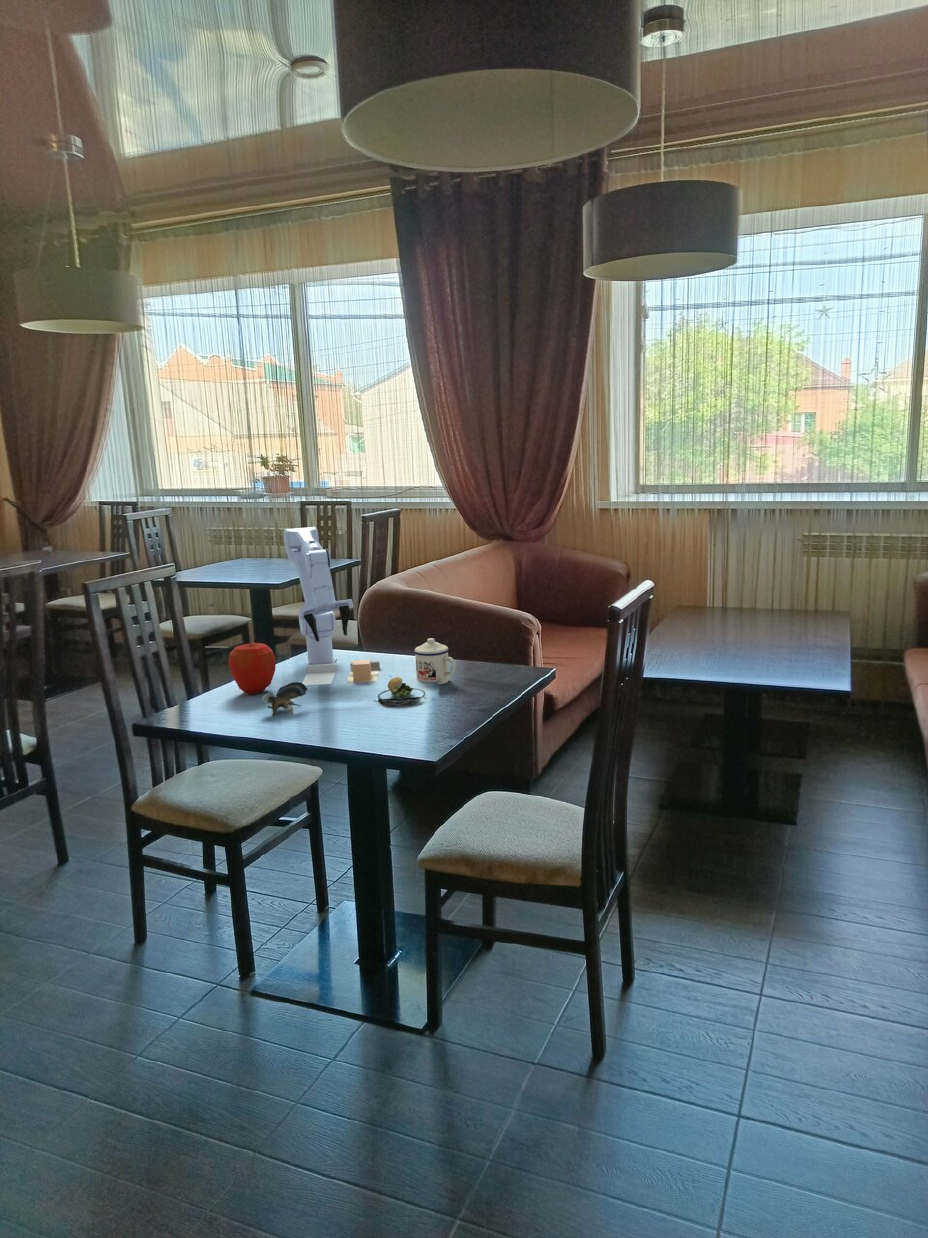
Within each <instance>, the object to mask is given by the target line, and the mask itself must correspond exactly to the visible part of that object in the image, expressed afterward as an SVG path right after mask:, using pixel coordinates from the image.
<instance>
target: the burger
mask: <svg viewBox="0 0 928 1238" xmlns="http://www.w3.org/2000/svg"><path fill="white" fill-rule="evenodd" d="M389 676H390V678H391V679H390V680H389V681H388V683H387V688H388V690H384V691H381V692H380V693H378V694H377V698H378V699H377V701H378V704H379V705H382V706H385V707H395V708H397V707H410V706H411V707H412V706H413V704H414V702H415V701H418V700H421V699H422V697H424V696H425V695H426V692H425V690H423V689H420V688H416V687H415V688H414V687H411V686H410V685H408V684H407V683H406V682H403V678H402V677H401V676H397V677H393V678H392V676H391V675H389ZM413 690H417V691H420V692H422V693H423V694H422V696H414V697H413V696H411V695H412V691H413ZM386 692H390V693H391V696H392V697H393V698H381V696H382V695H383V694H384V693H386ZM410 696H411V697H410Z"/></svg>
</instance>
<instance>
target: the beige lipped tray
mask: <svg viewBox="0 0 928 1238" xmlns="http://www.w3.org/2000/svg"><path fill="white" fill-rule="evenodd" d="M352 664H353V661H352V662H350V663H349V665H350V666H349V667H350V672H349V674H348V678H347V681H346V684H353V683H354V684H355V683H356V684H357V683H371V682H372V683H373V682H378V678H379V674H380V670H381V669H380V668H381V665H380V660H371V674H372V676H371V680H367V681H353V668H352Z"/></svg>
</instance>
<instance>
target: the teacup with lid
mask: <svg viewBox="0 0 928 1238" xmlns="http://www.w3.org/2000/svg"><path fill="white" fill-rule="evenodd" d="M449 651H450V650H449V647H448V645H445V644H442V643H439V642H438V641H437V642H436V640H435V638H431V637H430V638H427V640H426V642H424V643H422V644H421V645H419V646H417V647H415V649H414V651H413V653H414V656H415V671H416V672H415V673H416V680H418V681H419V682H423V683H433V682H434V683H435V682H436V683H437V686H441V685H445V684H446V683H449V681H450V676H451V675H453V673H455V671H456V667H457V664H456V660H455V659H454V658H453V657H451V656H449ZM449 662H450V664H451V670H449V668H450V667H449V666H450V665H449Z"/></svg>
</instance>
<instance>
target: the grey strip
mask: <svg viewBox="0 0 928 1238" xmlns="http://www.w3.org/2000/svg"><path fill="white" fill-rule="evenodd" d="M337 668H338V667H337V663H336V662H329V663H323V664H307V665H306V671H307V673H306V675H305V677H304V678H303V681H302V682H301V683H302V684H304V685H305V686H317V685H331V684H332V683H333V681H334V679H335V676H336V674H337V671H338V669H337Z"/></svg>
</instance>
